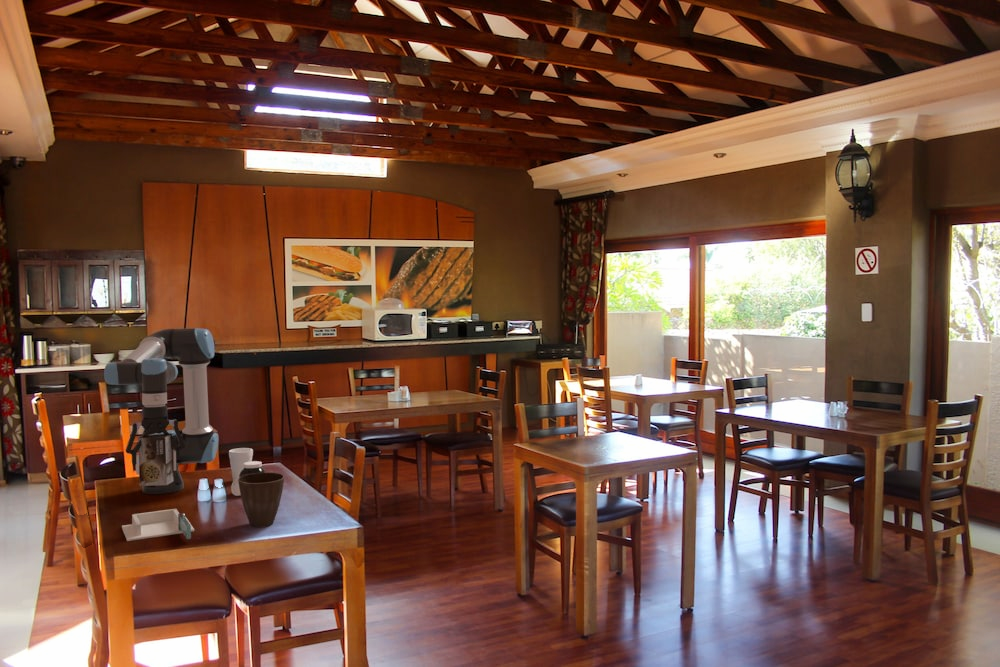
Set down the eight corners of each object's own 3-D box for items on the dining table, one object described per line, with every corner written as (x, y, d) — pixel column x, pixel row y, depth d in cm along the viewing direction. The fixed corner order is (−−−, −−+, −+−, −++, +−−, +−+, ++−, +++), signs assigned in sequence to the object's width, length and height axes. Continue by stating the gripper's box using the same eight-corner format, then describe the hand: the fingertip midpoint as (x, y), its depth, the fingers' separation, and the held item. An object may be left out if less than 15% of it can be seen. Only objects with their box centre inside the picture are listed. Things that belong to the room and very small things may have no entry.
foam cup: (234, 485, 314) (234, 453, 314) (225, 480, 321) (225, 450, 320) (257, 481, 321) (256, 450, 320) (247, 477, 327) (247, 447, 327)
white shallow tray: (121, 527, 256) (121, 515, 256) (185, 518, 267) (185, 506, 266) (127, 541, 242) (126, 528, 242) (194, 531, 252) (194, 518, 252)
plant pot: (292, 524, 260) (292, 477, 259) (251, 533, 250) (250, 485, 249) (272, 515, 271) (271, 470, 270) (231, 523, 261) (230, 477, 260)
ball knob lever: (178, 528, 252) (177, 513, 251) (184, 527, 253) (184, 512, 252) (185, 540, 239) (185, 525, 239) (192, 539, 240) (192, 524, 240)
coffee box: (174, 481, 258) (173, 433, 257) (166, 485, 252) (165, 436, 251) (146, 481, 258) (145, 433, 257) (138, 486, 251) (137, 437, 250)
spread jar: (268, 489, 306) (268, 461, 306) (259, 497, 295) (259, 467, 295) (239, 489, 307) (238, 460, 306) (228, 497, 295) (228, 467, 295)
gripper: (117, 409, 244) (118, 478, 245) (193, 404, 256) (195, 469, 257) (114, 406, 251) (116, 473, 252) (190, 401, 262) (191, 465, 264)
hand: (156, 471), depth 254 cm, fingers closed on coffee box, 10 cm apart
